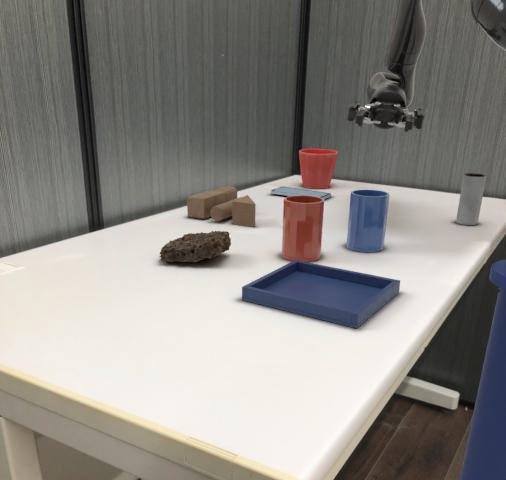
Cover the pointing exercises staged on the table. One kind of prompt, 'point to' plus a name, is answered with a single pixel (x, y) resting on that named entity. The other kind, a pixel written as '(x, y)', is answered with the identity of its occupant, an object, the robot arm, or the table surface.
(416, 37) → the robot arm
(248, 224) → the wooden block set
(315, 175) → the flower pot
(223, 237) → the dark brown rock
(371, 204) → the blue cup
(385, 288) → the blue tray
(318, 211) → the red cup
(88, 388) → the table surface
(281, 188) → the smartphone
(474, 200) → the grey hollow tube
